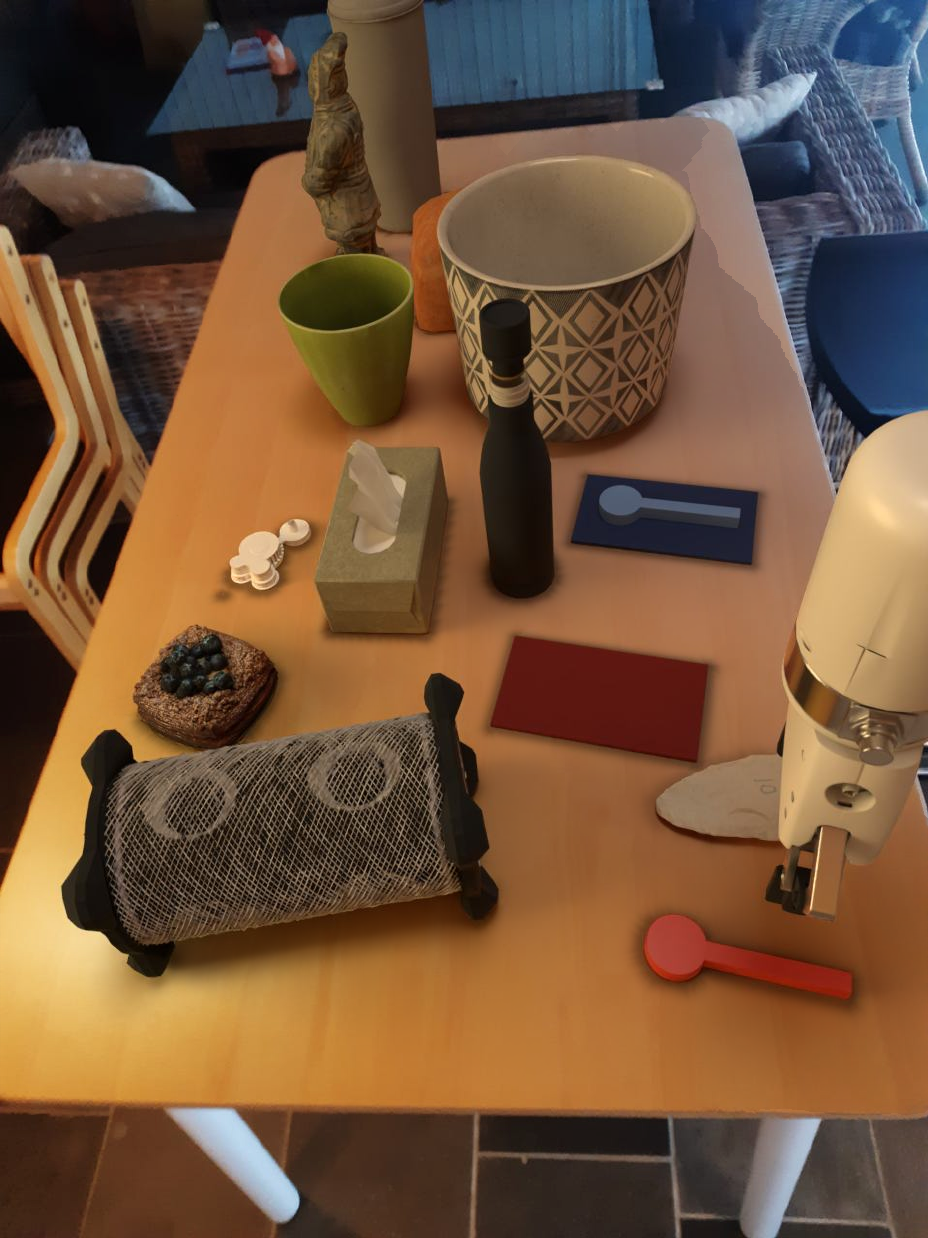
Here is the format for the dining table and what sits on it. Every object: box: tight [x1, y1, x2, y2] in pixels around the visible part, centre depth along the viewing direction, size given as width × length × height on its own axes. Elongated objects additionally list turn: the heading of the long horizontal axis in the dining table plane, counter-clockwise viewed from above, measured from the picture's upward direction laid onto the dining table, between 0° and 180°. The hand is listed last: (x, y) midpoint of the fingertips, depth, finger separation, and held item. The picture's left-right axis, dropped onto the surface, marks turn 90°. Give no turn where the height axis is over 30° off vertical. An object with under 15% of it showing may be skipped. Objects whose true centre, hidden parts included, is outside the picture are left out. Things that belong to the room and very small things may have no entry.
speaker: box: [60, 672, 500, 978], centre depth 66 cm, size 15×28×15 cm, turn 98°
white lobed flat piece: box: [216, 518, 312, 596], centre depth 93 cm, size 9×9×2 cm
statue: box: [301, 32, 387, 257], centre depth 116 cm, size 11×9×30 cm
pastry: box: [132, 623, 280, 752], centre depth 81 cm, size 11×12×6 cm
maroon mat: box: [489, 635, 709, 763], centre depth 79 cm, size 18×10×1 cm, turn 75°
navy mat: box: [570, 473, 759, 566], centre depth 92 cm, size 18×10×1 cm, turn 75°
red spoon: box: [644, 913, 853, 1000], centre depth 63 cm, size 14×4×2 cm, turn 75°
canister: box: [326, 0, 443, 233], centre depth 122 cm, size 13×13×35 cm
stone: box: [655, 753, 817, 842], centre depth 71 cm, size 8×14×2 cm, turn 95°
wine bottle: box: [478, 298, 555, 599], centre depth 77 cm, size 6×6×30 cm
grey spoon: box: [599, 485, 741, 529], centre depth 91 cm, size 14×4×2 cm, turn 75°
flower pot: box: [277, 254, 415, 428], centre depth 102 cm, size 15×15×16 cm
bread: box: [409, 186, 466, 333], centre depth 113 cm, size 14×33×16 cm, turn 94°
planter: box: [437, 154, 698, 443], centre depth 97 cm, size 26×26×22 cm
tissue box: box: [312, 438, 449, 634], centre depth 86 cm, size 19×10×16 cm, turn 174°
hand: (797, 825), depth 53 cm, fingers open, 9 cm apart
